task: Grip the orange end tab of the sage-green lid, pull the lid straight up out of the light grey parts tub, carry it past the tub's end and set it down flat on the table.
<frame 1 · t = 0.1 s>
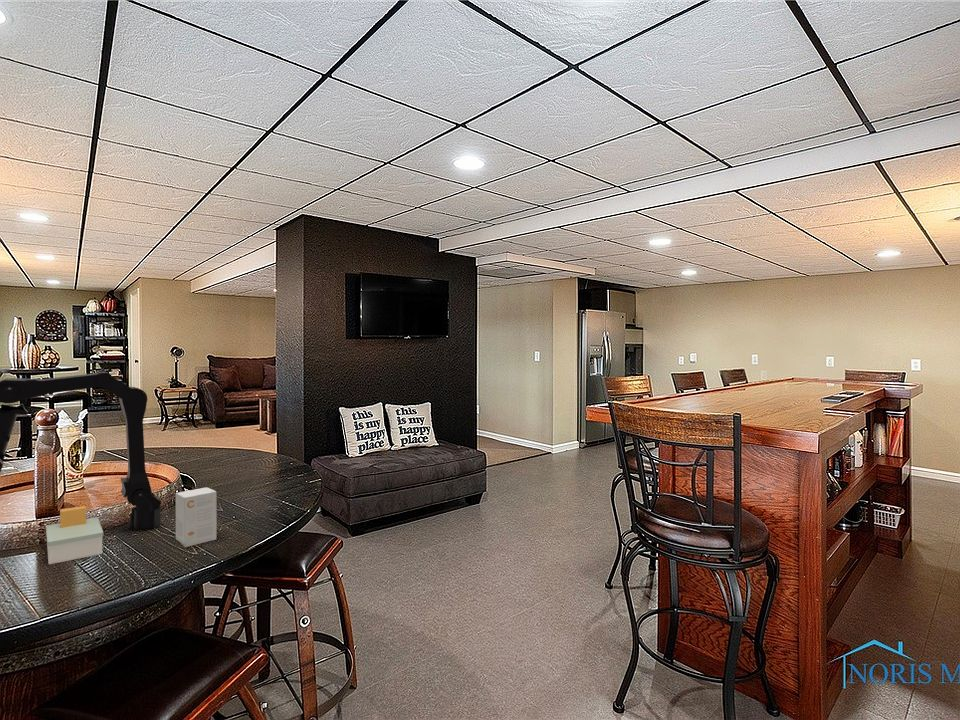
brass part: (65, 548, 129), point 1 cm above the table, touching tub
tub: (74, 553, 128), on the table
lid: (74, 538, 128), point 3 cm above the table, touching tub
small box: (196, 541, 137), on the table
steel part: (80, 551, 127), point 1 cm above the table, touching tub
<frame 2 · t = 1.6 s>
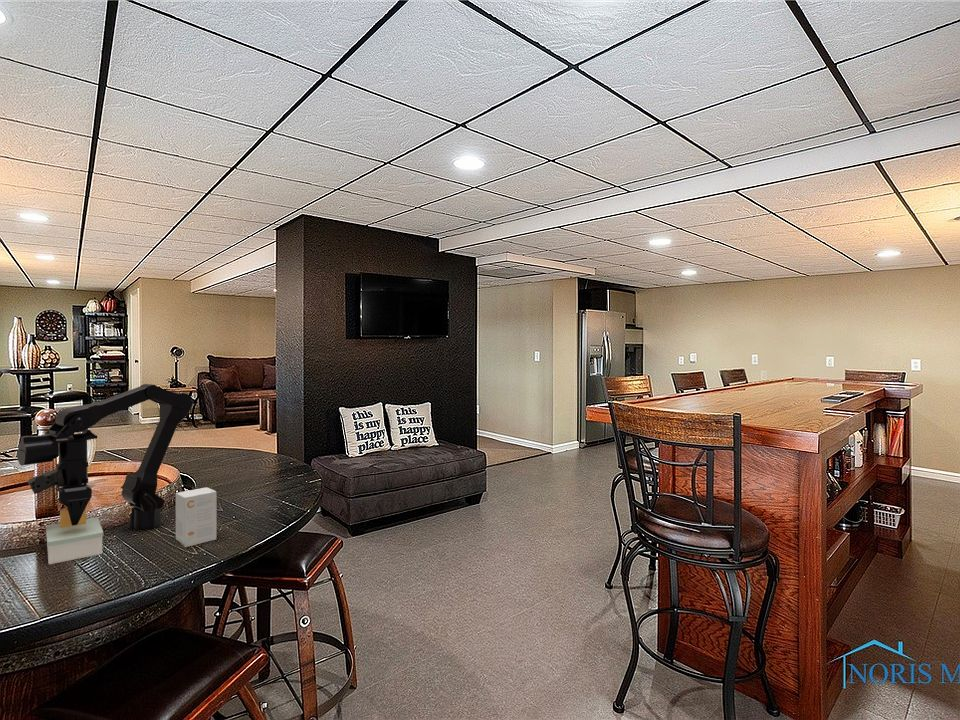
hand: (73, 520, 131), 7 cm above the table, tool pointing down, fingers open, 9 cm apart
nothing on the table moved.
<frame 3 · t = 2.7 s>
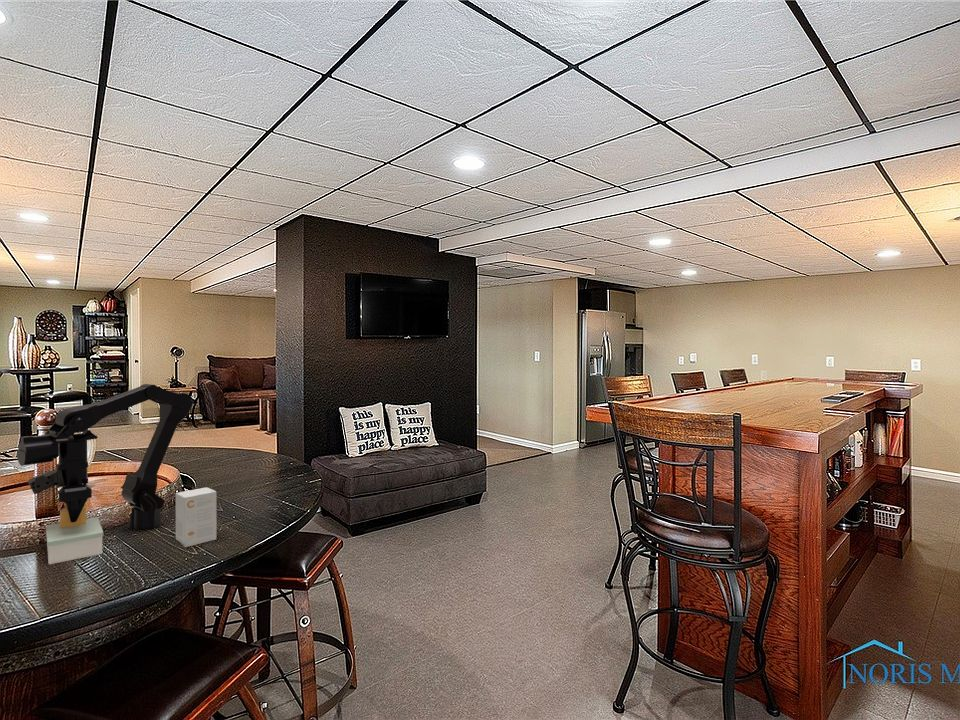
hand: (73, 520, 131), 7 cm above the table, tool pointing down, fingers closed on lid, 2 cm apart
lid: (74, 538, 128), point 3 cm above the table, touching gripper, tub
everything else where it was.
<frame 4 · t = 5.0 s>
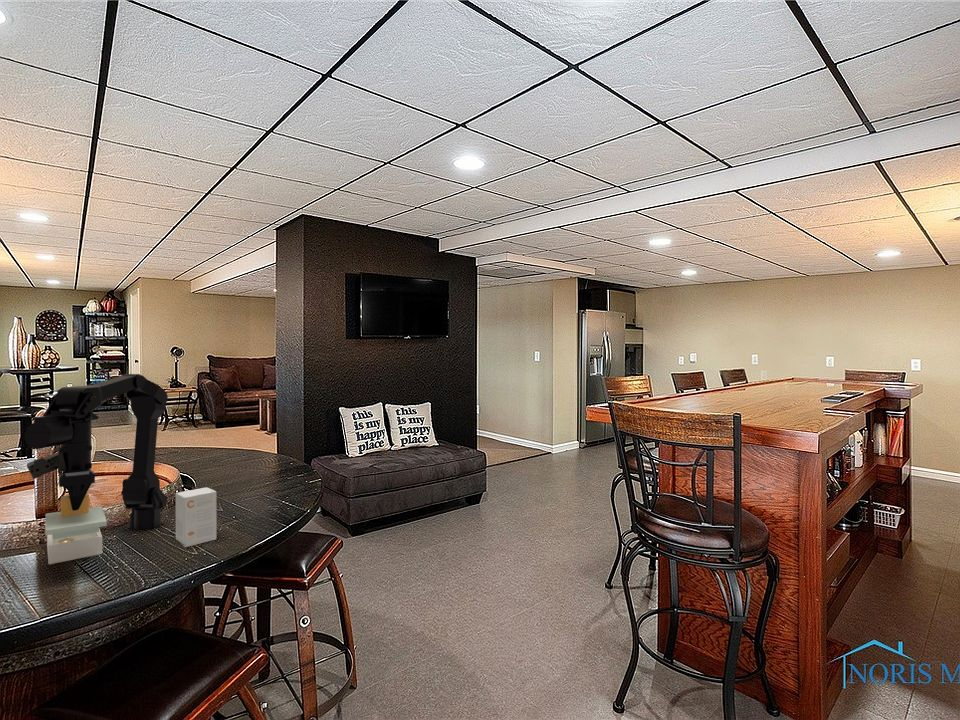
hand: (75, 508, 120), 13 cm above the table, tool pointing down, fingers closed on lid, 2 cm apart
lid: (75, 528, 117), point 10 cm above the table, touching gripper
everything else where it was.
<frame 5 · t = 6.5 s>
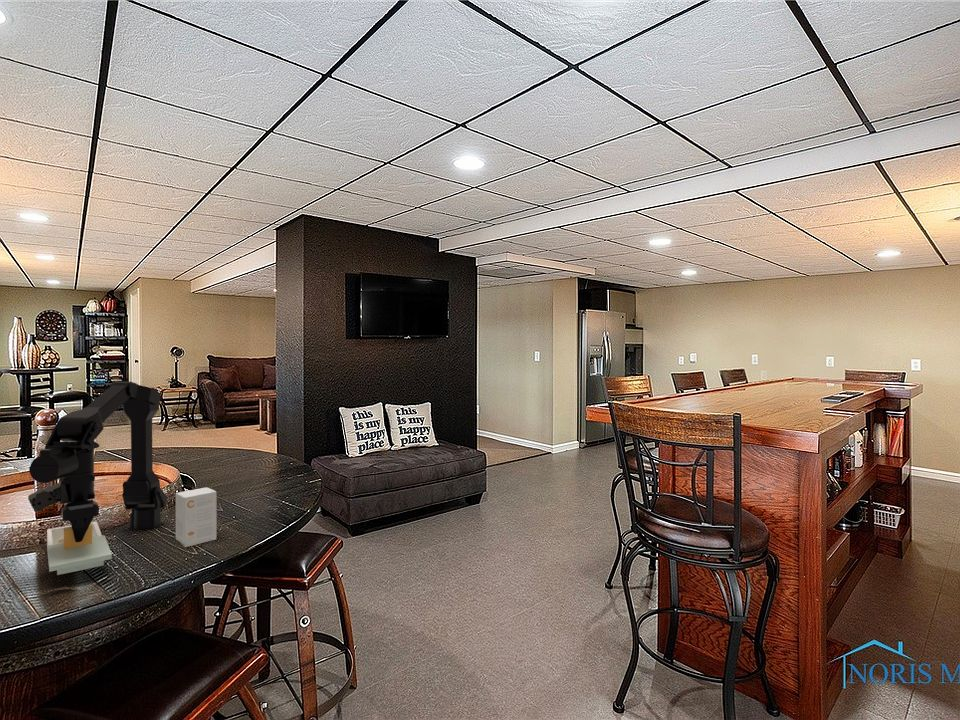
hand: (78, 540, 118), 7 cm above the table, tool pointing down, fingers closed on lid, 2 cm apart
lid: (79, 561, 115), point 4 cm above the table, touching gripper
everything else where it was.
when the fingers open (5 cm above the table, at t = 7.5 s): lid drops 1 cm, on the table.
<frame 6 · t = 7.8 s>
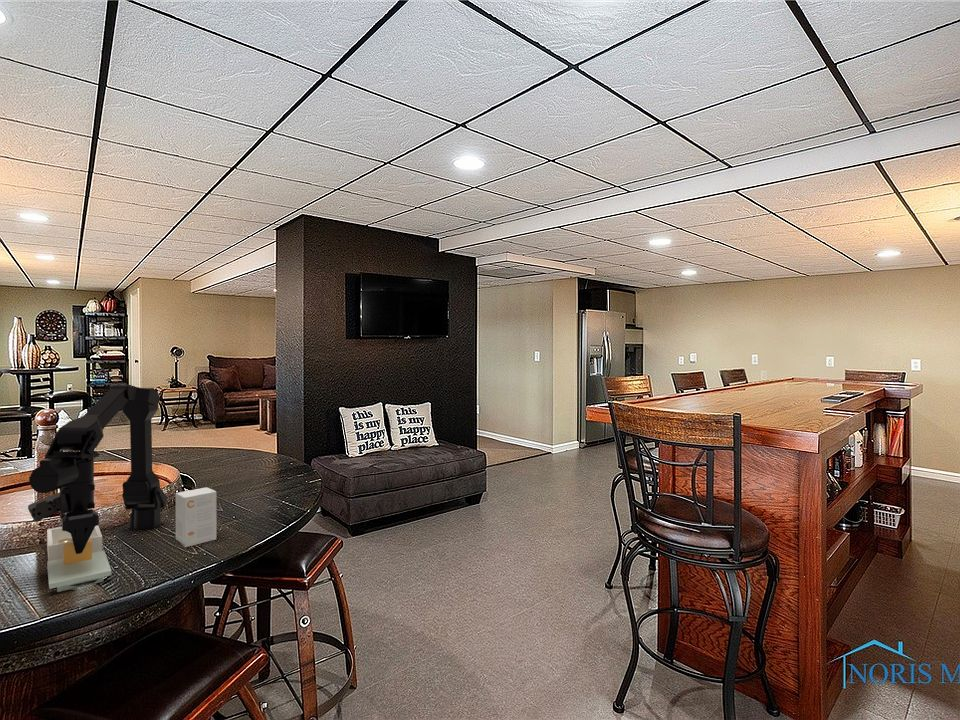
hand: (78, 549, 118), 5 cm above the table, tool pointing down, fingers open, 5 cm apart
lid: (78, 577, 115), on the table
everything else where it was.
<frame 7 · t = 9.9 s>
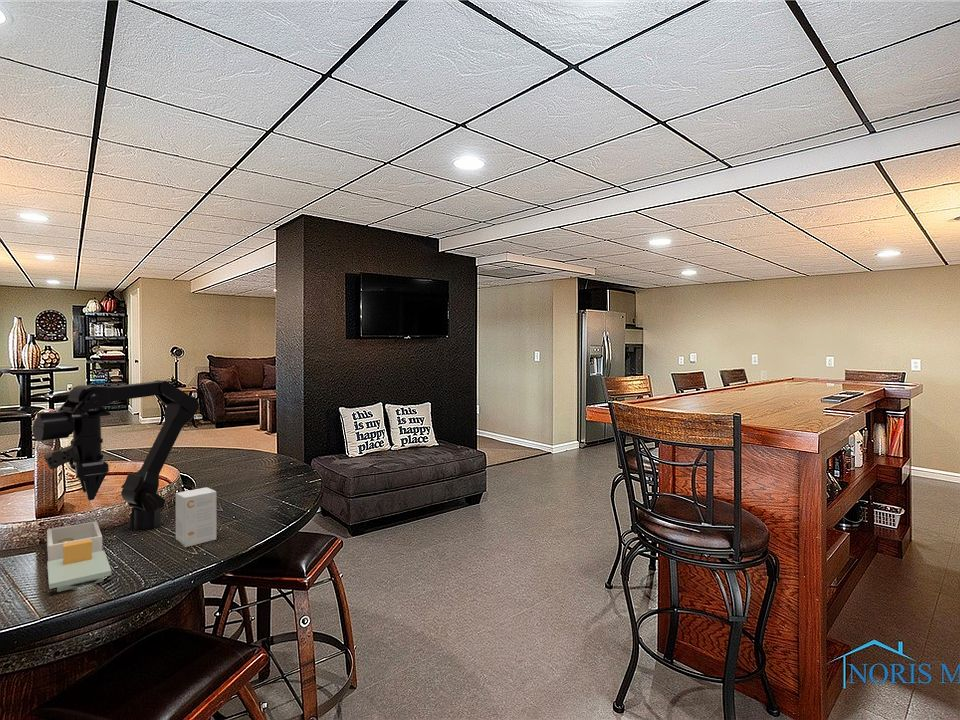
hand: (88, 495, 132), 13 cm above the table, tool pointing down, fingers open, 9 cm apart
nothing on the table moved.
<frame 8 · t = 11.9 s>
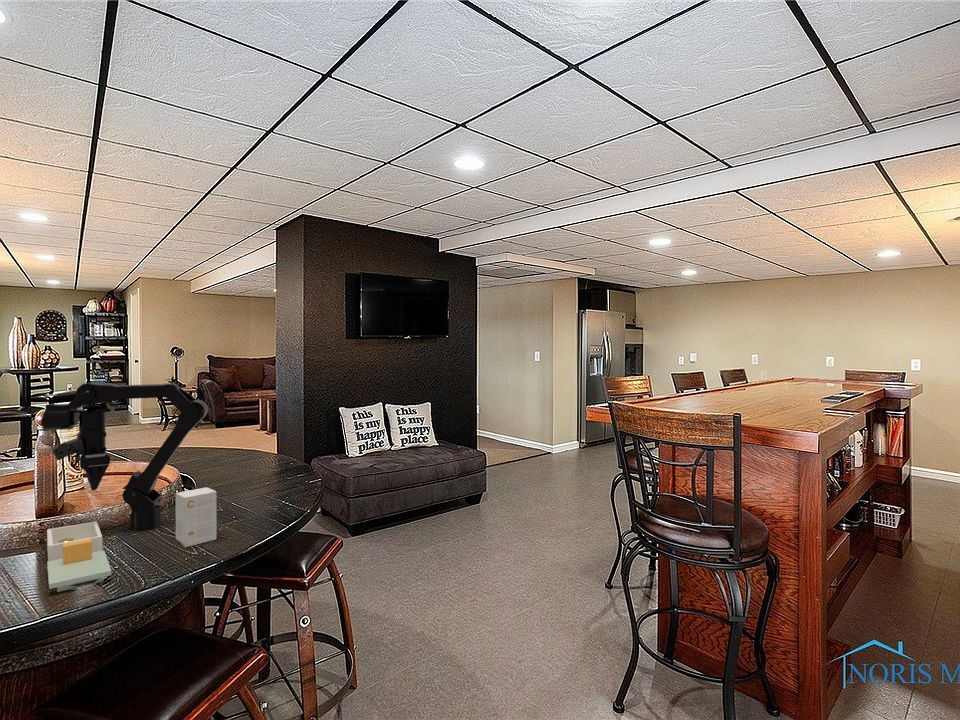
hand: (92, 486, 140), 13 cm above the table, tool pointing down, fingers open, 9 cm apart
nothing on the table moved.
at the end: lid touching table; lid inside the target area (0.2 cm from its centre), on the table; lid tilted 0° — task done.
